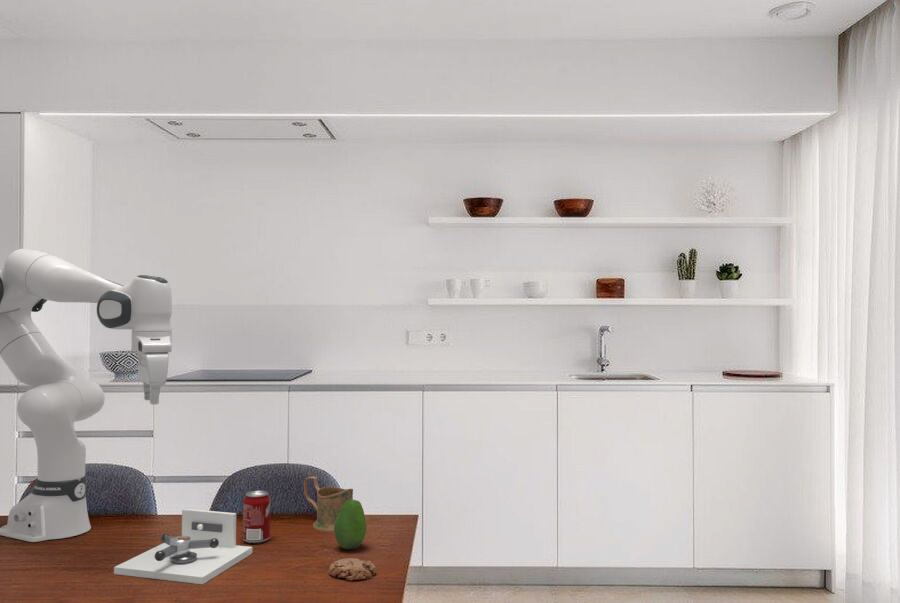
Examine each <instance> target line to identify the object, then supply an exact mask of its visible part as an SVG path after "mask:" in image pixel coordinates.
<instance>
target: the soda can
mask: <svg viewBox="0 0 900 603" xmlns="http://www.w3.org/2000/svg"><path fill="white" fill-rule="evenodd" d="M241 533H242V534H241V535H242V538H241V540H242V541H244V542H246V544H247V543H248V544H251V543H253V545H255V544H256V543H257V544H262V543H265V542H266V541H268V540H269V539H270V538H271V497H270V496H269V492H268V491H265V490H251V491H247V492H246V493H245V497H244V499H243V500H242V532H241ZM254 543H255V544H254Z"/></svg>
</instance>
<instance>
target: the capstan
mask: <svg viewBox="0 0 900 603" xmlns="http://www.w3.org/2000/svg"><path fill="white" fill-rule="evenodd" d="M190 540H191V538H190V537H188V536H182V535H179V536H172V535H171V534H169V533H163V534H162V535H161V537H160V541H161V542H162V544H163V543H166V544H168V545H170V546H169V547H167V548H165V549H163V550H160V551H157V552H156V553H155V559H156V560H157V561H162V560H163V559H164V558H166V557H168V556H170V561H171V562H173V563H189V562H192V561H195V560H196V559H197V554H196V553H195V552H190V549H196V548H210V547H211V548H216V547H217V546H218V545H219V541H218V539H216V538H213V539H210V540H195V541H190Z"/></svg>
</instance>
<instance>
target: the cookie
mask: <svg viewBox="0 0 900 603" xmlns="http://www.w3.org/2000/svg"><path fill="white" fill-rule="evenodd" d="M376 571H377V567H376V565H375V564H374V563H372V561H371V560H365V559H362V560H360V558H353V557H351V558H350V557H349V558H347V557H346V558H341V559H339V560H336V561H334V562H332V563H331V564H330V566H329V568H328V575H329V576H331V577H332V576H333V577H334V578H338V579H340V578H345V580H347V581H356V580H357V581H358V580H365V579H366V580H367V579H368V580H369V579H372V577H373V576H375V574H376V573H377V572H376Z"/></svg>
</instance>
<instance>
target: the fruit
mask: <svg viewBox="0 0 900 603" xmlns="http://www.w3.org/2000/svg"><path fill="white" fill-rule="evenodd" d="M333 533H334V536H335V539H336V540H335V541H336V543H337V544H338V545H339V546H340V547H341V548H342V549H344V550H348V551H349V550H354V549H357V548H358V547H360V546H361V544H363V542H364V540H365V537H366V533H367V520H366V516H365V511H364V508H363V505H362V503H361V502H360V500H356V499H353V500H349V501H347V502H345V503H344V504H343V506H342V508H341V510H340V512H339V514H338V516H337V518H336V521H335V525H334V532H333Z"/></svg>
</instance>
